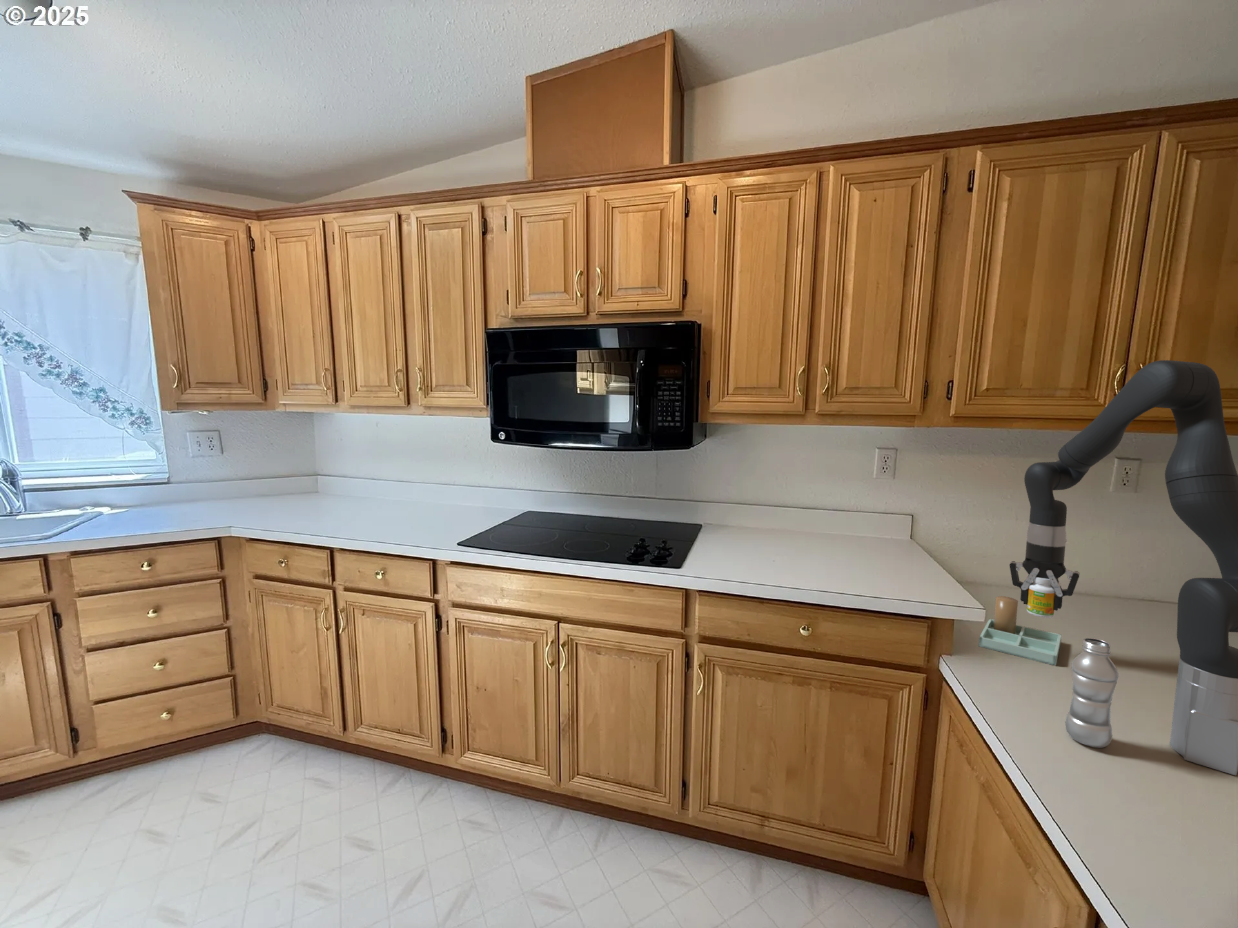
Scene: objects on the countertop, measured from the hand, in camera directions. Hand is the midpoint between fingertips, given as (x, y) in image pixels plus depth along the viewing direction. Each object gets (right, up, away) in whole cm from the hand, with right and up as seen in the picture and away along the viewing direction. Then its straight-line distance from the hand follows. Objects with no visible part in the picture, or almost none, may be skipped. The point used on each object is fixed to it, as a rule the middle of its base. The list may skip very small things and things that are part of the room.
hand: (1040, 606), depth 132 cm
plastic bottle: (-17, -17, -32) cm, 40 cm away
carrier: (0, -12, +7) cm, 14 cm away
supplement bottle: (0, -2, 0) cm, 2 cm away
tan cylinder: (0, -11, +12) cm, 17 cm away
